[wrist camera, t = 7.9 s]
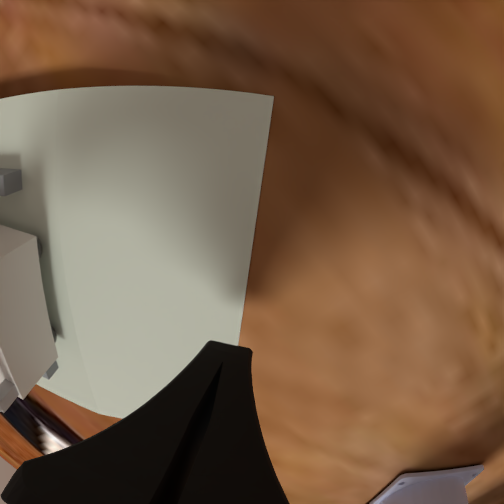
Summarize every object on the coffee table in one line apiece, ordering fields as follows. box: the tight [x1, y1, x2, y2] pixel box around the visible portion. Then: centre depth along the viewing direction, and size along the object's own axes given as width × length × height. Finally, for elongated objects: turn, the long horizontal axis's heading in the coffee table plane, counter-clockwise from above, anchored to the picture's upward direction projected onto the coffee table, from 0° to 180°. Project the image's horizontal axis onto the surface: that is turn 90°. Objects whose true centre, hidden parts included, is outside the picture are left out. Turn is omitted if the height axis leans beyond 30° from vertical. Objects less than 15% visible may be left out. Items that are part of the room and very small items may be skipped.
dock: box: [0, 86, 274, 418], centre depth 12 cm, size 16×17×5 cm
